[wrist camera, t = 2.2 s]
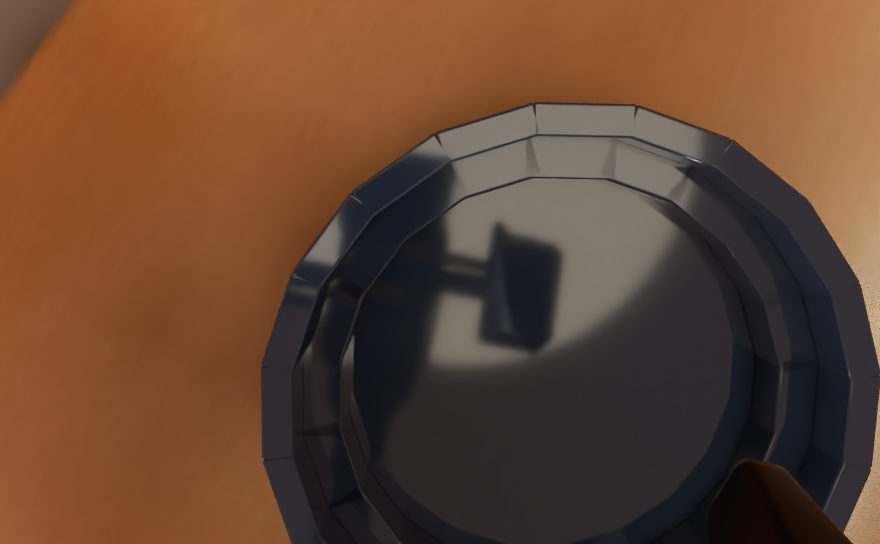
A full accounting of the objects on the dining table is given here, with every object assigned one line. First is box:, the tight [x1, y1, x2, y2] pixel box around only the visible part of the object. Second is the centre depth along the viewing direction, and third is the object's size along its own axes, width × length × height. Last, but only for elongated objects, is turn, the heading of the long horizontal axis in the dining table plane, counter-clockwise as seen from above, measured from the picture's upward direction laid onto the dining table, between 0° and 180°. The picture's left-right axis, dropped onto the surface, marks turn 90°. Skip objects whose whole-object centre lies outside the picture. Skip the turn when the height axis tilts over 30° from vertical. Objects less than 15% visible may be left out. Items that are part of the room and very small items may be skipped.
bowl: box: [261, 102, 880, 544], centre depth 22 cm, size 16×16×4 cm
